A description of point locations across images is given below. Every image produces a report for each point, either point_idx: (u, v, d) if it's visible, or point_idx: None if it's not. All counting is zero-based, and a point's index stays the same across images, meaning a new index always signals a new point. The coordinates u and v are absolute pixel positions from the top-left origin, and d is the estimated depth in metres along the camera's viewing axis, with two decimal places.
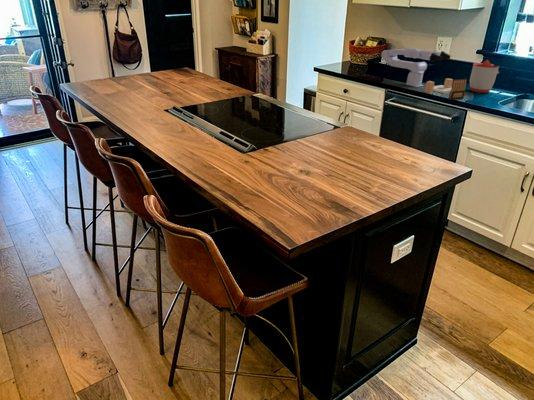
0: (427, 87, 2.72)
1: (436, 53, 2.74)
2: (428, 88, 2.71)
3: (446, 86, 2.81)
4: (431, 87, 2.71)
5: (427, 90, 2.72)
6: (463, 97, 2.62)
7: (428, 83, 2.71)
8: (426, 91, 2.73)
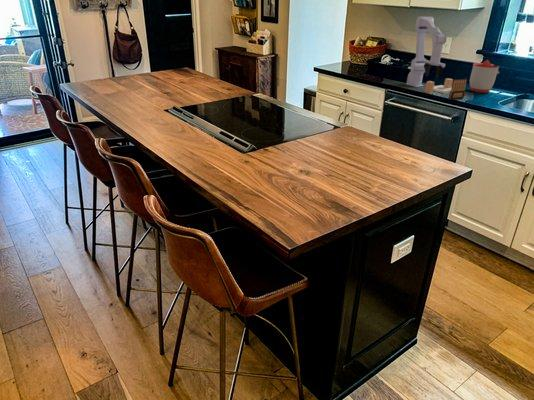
0: (427, 87, 2.72)
1: (434, 63, 2.64)
2: (428, 88, 2.71)
3: (446, 86, 2.81)
4: (431, 87, 2.71)
5: (427, 90, 2.72)
6: (463, 97, 2.62)
7: (428, 83, 2.71)
8: (426, 91, 2.73)
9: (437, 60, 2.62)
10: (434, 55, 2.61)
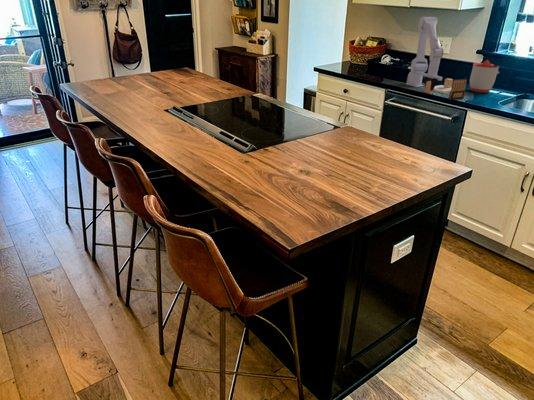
0: (427, 87, 2.72)
1: (431, 77, 2.68)
2: (428, 88, 2.71)
3: (446, 86, 2.81)
4: None
5: (427, 90, 2.72)
6: (463, 97, 2.62)
7: (428, 83, 2.71)
8: (426, 91, 2.73)
9: (434, 73, 2.66)
10: (431, 68, 2.65)
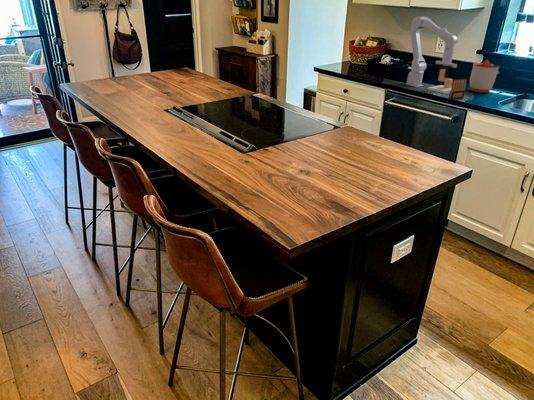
0: (440, 75, 2.74)
1: None
2: (442, 76, 2.73)
3: (446, 86, 2.81)
4: None
5: (441, 78, 2.74)
6: (463, 97, 2.62)
7: (442, 71, 2.72)
8: (440, 79, 2.75)
9: (449, 61, 2.68)
10: (446, 56, 2.67)
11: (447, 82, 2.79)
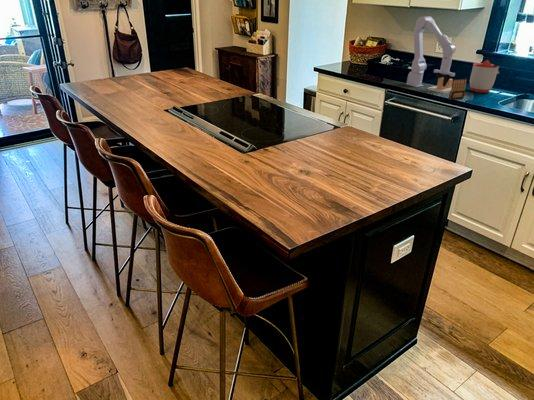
0: (438, 83, 2.77)
1: None
2: (440, 85, 2.76)
3: (446, 86, 2.81)
4: None
5: (439, 86, 2.77)
6: (463, 97, 2.62)
7: (440, 80, 2.75)
8: (438, 87, 2.78)
9: (447, 69, 2.70)
10: (444, 65, 2.70)
11: (447, 82, 2.79)
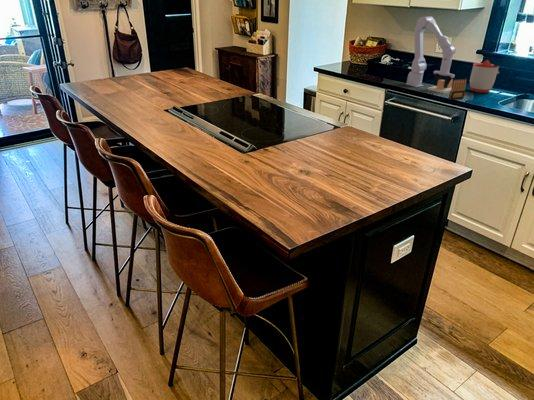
0: (438, 85, 2.77)
1: None
2: (440, 86, 2.77)
3: None
4: (442, 85, 2.76)
5: (439, 88, 2.77)
6: (463, 97, 2.62)
7: (440, 81, 2.76)
8: None
9: (447, 71, 2.71)
10: (444, 66, 2.70)
11: None
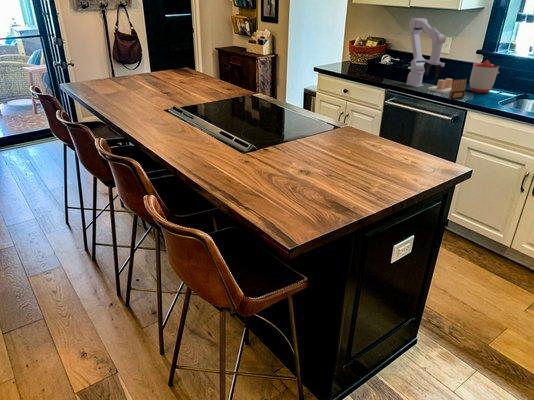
0: (438, 85, 2.77)
1: None
2: (440, 86, 2.77)
3: (446, 86, 2.81)
4: (443, 85, 2.76)
5: (439, 88, 2.77)
6: (463, 97, 2.62)
7: (440, 81, 2.76)
8: None
9: (437, 59, 2.68)
10: (434, 55, 2.67)
11: (447, 82, 2.79)
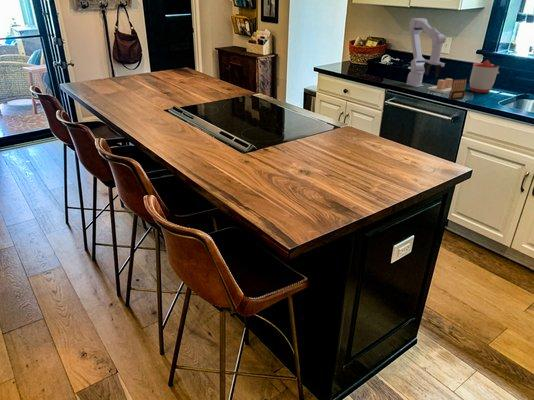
0: (438, 85, 2.77)
1: None
2: (440, 86, 2.77)
3: (446, 86, 2.81)
4: (442, 85, 2.76)
5: (439, 88, 2.77)
6: (463, 97, 2.62)
7: (440, 81, 2.76)
8: None
9: (436, 59, 2.68)
10: (434, 55, 2.67)
11: (447, 82, 2.79)
